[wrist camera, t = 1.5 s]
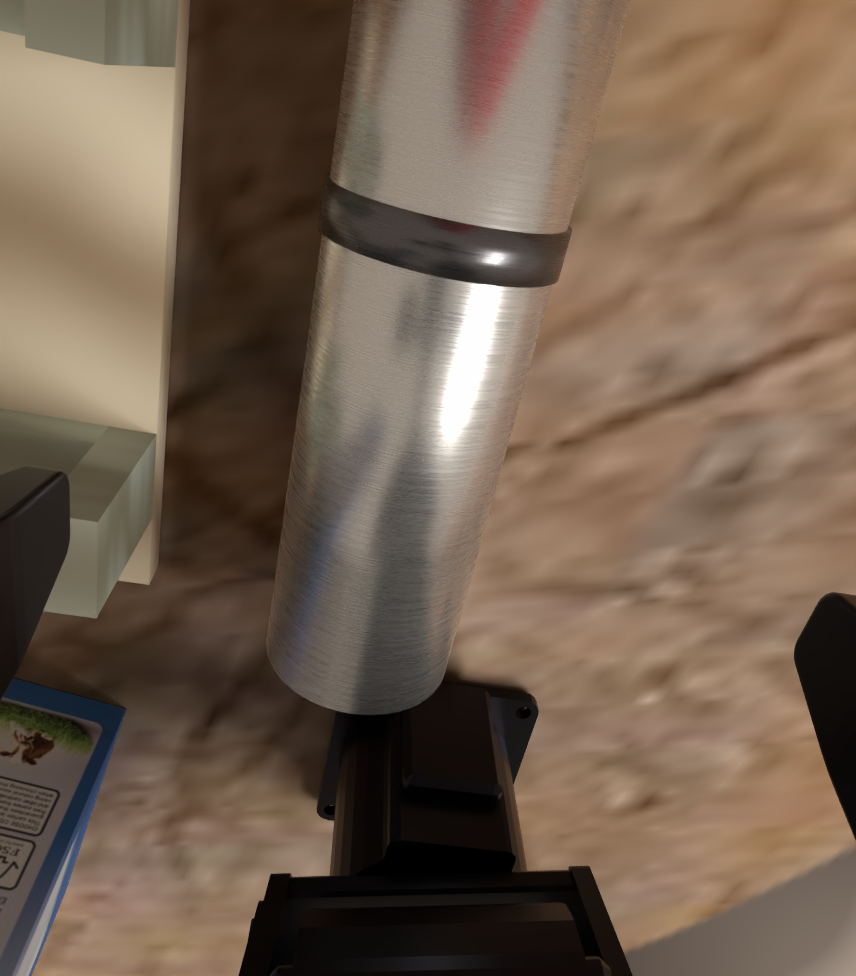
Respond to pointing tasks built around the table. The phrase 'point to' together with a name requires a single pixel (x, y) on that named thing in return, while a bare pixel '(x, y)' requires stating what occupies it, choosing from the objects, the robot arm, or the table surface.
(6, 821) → the milk carton
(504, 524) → the table surface
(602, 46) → the tube
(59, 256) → the collar cradle
